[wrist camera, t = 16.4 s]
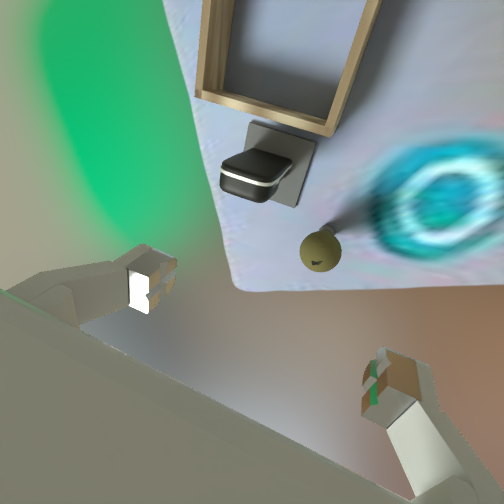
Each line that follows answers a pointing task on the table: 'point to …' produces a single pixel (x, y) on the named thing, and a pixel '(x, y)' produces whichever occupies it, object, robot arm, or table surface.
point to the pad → (285, 147)
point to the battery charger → (254, 174)
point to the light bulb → (321, 250)
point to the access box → (211, 89)
